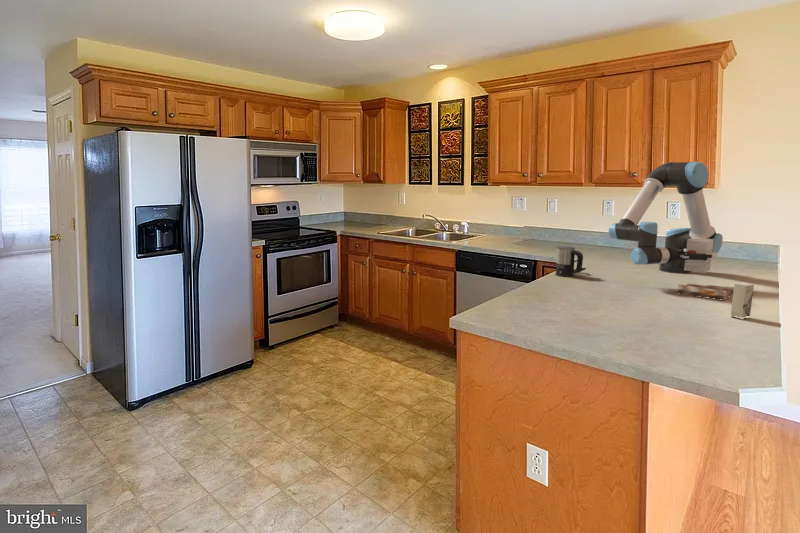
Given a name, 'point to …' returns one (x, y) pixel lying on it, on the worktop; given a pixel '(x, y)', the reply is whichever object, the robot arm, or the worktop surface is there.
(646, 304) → the worktop surface
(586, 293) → the worktop surface
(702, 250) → the supplement box
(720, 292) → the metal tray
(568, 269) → the milk frother
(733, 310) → the box
